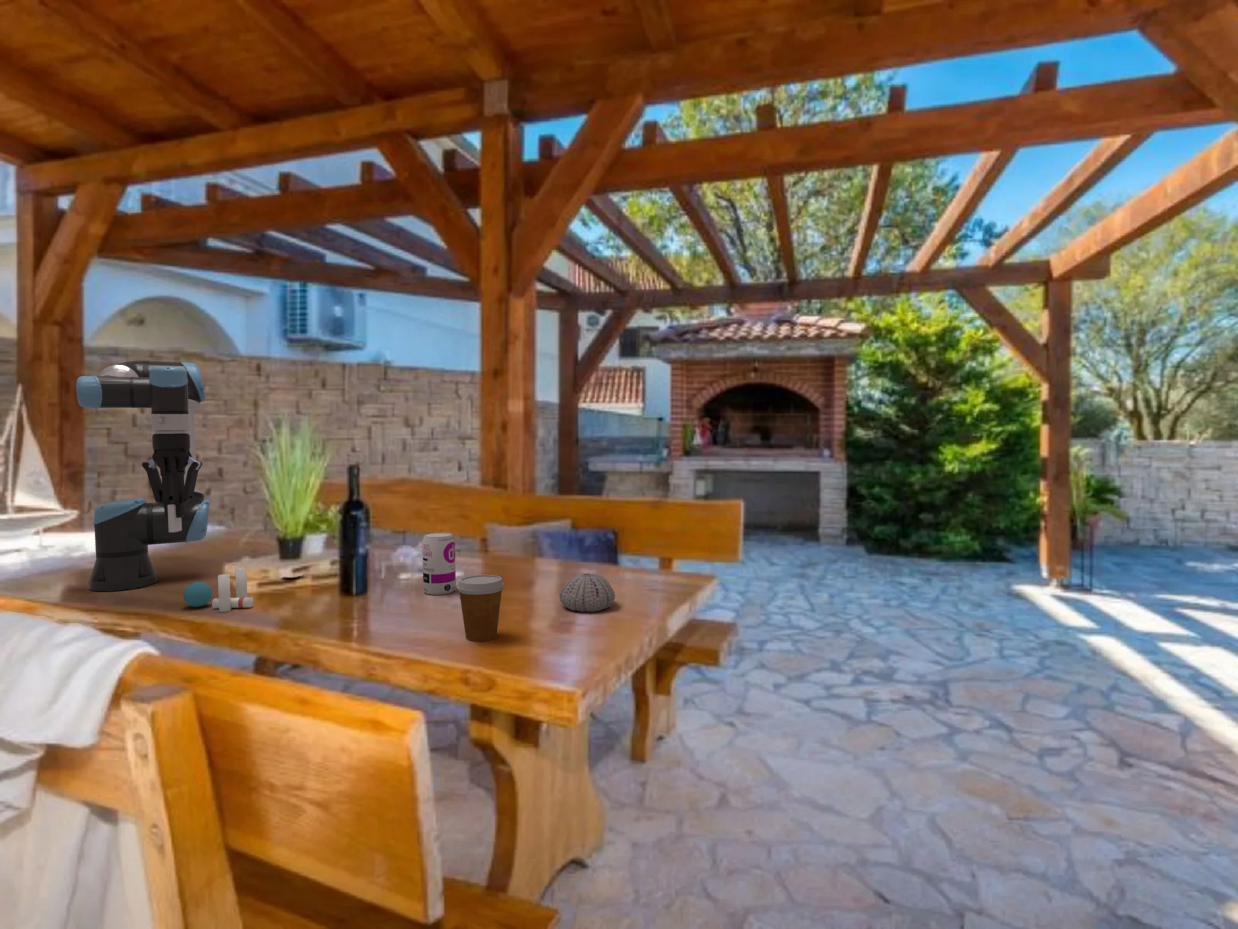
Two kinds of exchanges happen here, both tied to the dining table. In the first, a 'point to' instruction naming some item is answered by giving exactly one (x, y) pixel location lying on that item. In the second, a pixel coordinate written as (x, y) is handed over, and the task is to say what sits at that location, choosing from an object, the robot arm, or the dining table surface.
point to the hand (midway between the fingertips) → (175, 531)
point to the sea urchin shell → (587, 593)
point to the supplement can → (439, 563)
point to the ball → (197, 594)
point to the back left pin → (241, 582)
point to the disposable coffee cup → (480, 605)
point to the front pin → (236, 602)
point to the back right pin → (224, 592)
